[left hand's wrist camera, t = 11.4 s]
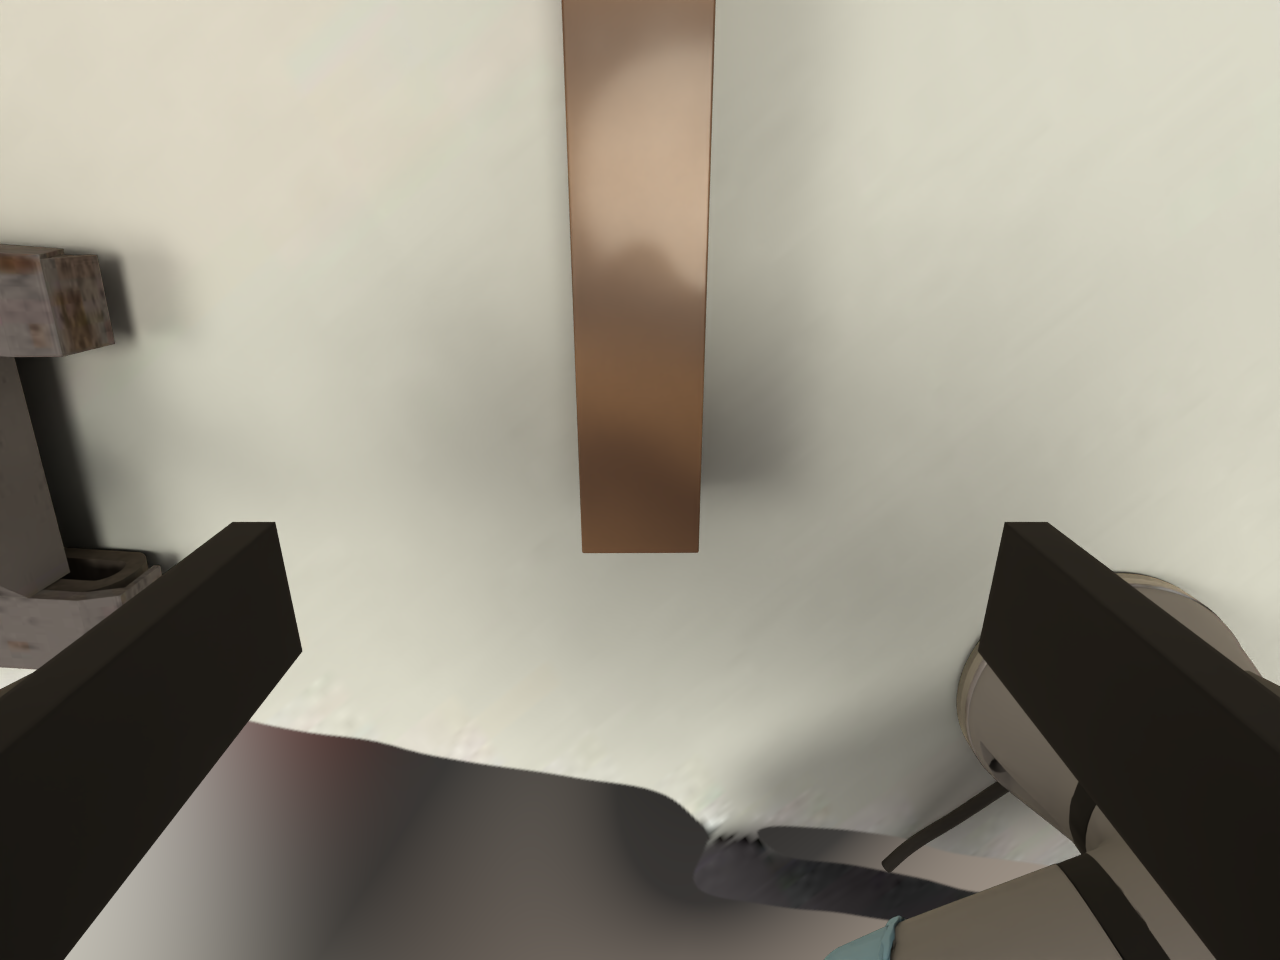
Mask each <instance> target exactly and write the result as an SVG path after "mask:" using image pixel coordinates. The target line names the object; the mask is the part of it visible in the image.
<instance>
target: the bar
mask: <svg viewBox="0 0 1280 960" xmlns="http://www.w3.org/2000/svg"><path fill="white" fill-rule="evenodd" d="M715 5H716V0H562V24H563V51H564V77H565V104H566V131H567V158H568V184H569V211H570V238H571V265H572V292H573V318H574V345H575V372H576V399H577V425H578V452H579V479H580V506H581V533H582V552H583V553H697V552H698V551H699V522H700V489H701V457H702V425H703V392H704V360H705V328H706V295H707V263H708V231H709V198H710V166H711V134H712V101H713V69H714V37H715Z"/></svg>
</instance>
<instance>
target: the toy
mask: <svg viewBox="0 0 1280 960" xmlns="http://www.w3.org/2000/svg"><path fill="white" fill-rule="evenodd" d="M62 254H64V251H63V249H57V248H44V247H31V246H17V245H4V244H0V667H5V668H22V669H39V668H40V667H41V666H43V665H44V664H45V663H47V662H48V661H49V660H50V659H52V658H53V657H54V656H56V655H57V654H58V653H60V652H61V651H62V650H64V649H65V648H66V647H68V646H69V645H70V644H72V643H73V642H74V641H76V640H77V639H78V638H80V637H81V636H82V635H84V634H85V633H86V632H88V631H89V630H90V629H92V628H93V627H94V626H96V625H97V624H98V623H100V622H101V621H102V620H103V619H105V618H106V617H107V616H109V615H110V614H111V613H113V612H114V611H115V610H117V609H118V608H119V607H121V606H122V605H123V604H125V603H126V602H127V601H129V600H130V599H131V598H133V597H134V596H135V595H137V594H138V593H139V592H141V591H142V590H143V589H145V588H146V587H147V586H149V585H150V584H151V583H153V582H154V581H155V580H157V579H158V578H159V577H160V576H162V572H161V567H160V565H153V566H152V567H151V568H150V569H148V564H147V560H146V556H145V555H144V554H143V553H142V552H127V551H112V550H97V549H82V548H66V547H64V546H63V543H62V539H61V535H60V531H59V527H58V523H57V520H56V516H55V512H54V508H53V504H52V500H51V496H50V493H49V489H48V485H47V481H46V477H45V473H44V470H43V466H42V462H41V458H40V454H39V450H38V446H37V443H36V439H35V435H34V431H33V427H32V423H31V420H30V416H29V412H28V408H27V404H26V400H25V396H24V393H23V389H22V385H21V381H20V377H19V373H18V370H17V366H16V362H15V358H14V357H63V356H67V355H71V354H75V353H79V352H83V351H87V350H91V349H95V348H99V347H103V346H107V345H111V344H115V341H114V336H113V331H112V326H111V321H110V316H109V311H108V306H107V302H106V297H105V292H104V287H103V282H102V277H101V272H100V267H99V262H98V257H97V255H77V256H74V255H62Z"/></svg>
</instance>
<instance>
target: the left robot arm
mask: <svg viewBox="0 0 1280 960" xmlns="http://www.w3.org/2000/svg"><path fill="white" fill-rule="evenodd" d="M301 652H302V647H301V642H300V637H299V633H298V628H297V623H296V618H295V614H294V609H293V604H292V600H291V595H290V590H289V585H288V581H287V576H286V571H285V566H284V562H283V557H282V552H281V547H280V543H279V538H278V533H277V528H276V524H275V522H232V523H231V524H229V525H228V526H227V527H225V528H224V529H223V530H221V531H220V532H219V533H217V534H216V535H215V536H214V537H212V538H211V539H210V540H208V541H207V542H206V543H204V544H203V545H202V546H200V547H199V548H198V549H196V550H195V551H194V552H192V553H191V554H190V555H188V556H187V557H186V558H184V559H183V560H182V561H180V562H179V563H178V564H176V565H175V566H174V567H172V568H171V569H170V570H168V571H167V572H166V573H164V574H163V575H162V576H160V577H159V578H158V579H157V580H155V581H154V582H153V583H151V584H150V585H149V586H147V587H146V588H145V589H143V590H142V591H141V592H139V593H138V594H137V595H135V596H134V597H133V598H131V599H130V600H129V601H127V602H126V603H125V604H123V605H122V606H121V607H119V608H118V609H117V610H115V611H114V612H113V613H111V614H110V615H109V616H107V617H106V618H105V619H103V620H102V621H101V622H100V623H98V624H97V625H96V626H94V627H93V628H92V629H90V630H89V631H88V632H86V633H85V634H84V635H82V636H81V637H80V638H78V639H77V640H76V641H74V642H73V643H72V644H70V645H69V646H68V647H66V648H65V649H64V650H62V651H61V652H60V653H58V654H57V655H56V656H54V657H53V658H52V659H50V660H49V661H48V662H47V663H45V664H44V665H43V666H41V667H40V668H39V669H37V670H36V671H35V672H33V673H31V674H29V675H27V676H25V677H23V678H21V679H20V680H18V681H16V682H14V683H12V684H10V685H8V686H6V687H4V688H2V689H0V960H64V959H65V957H66V956H67V955H68V954H69V952H70V951H71V950H72V948H73V947H74V946H75V945H76V943H77V942H78V941H79V939H80V938H81V937H82V935H83V934H84V933H85V932H86V930H87V929H88V928H89V927H90V925H91V924H92V923H93V921H94V920H95V919H96V917H97V916H98V915H99V914H100V912H101V911H102V910H103V908H104V907H105V906H106V905H107V903H108V902H109V901H110V899H111V898H112V897H113V895H114V894H115V893H116V892H117V890H118V889H119V888H120V886H121V885H122V884H123V883H124V881H125V880H126V879H127V877H128V876H129V875H130V873H131V872H132V871H133V870H134V868H135V867H136V866H137V864H138V863H139V862H140V861H141V859H142V858H143V857H144V855H145V854H146V853H147V852H148V850H149V849H150V848H151V846H152V845H153V844H154V842H155V841H156V840H157V839H158V837H159V836H160V835H161V833H162V832H163V831H164V830H165V828H166V827H167V826H168V824H169V823H170V822H171V820H172V819H173V818H174V817H175V815H176V814H177V813H178V811H179V810H180V809H181V808H182V806H183V805H184V804H185V802H186V801H187V800H188V799H189V797H190V796H191V795H192V793H193V792H194V791H195V789H196V788H197V787H198V786H199V784H200V783H201V782H202V780H203V779H204V778H205V777H206V775H207V774H208V773H209V771H210V770H211V769H212V767H213V766H214V765H215V764H216V762H217V761H218V760H219V758H220V757H221V756H222V754H223V753H224V752H225V751H226V749H227V748H228V747H229V745H230V744H231V743H232V742H233V740H234V739H235V738H236V736H237V735H238V734H239V733H240V731H241V730H242V729H243V727H244V726H245V725H246V723H247V722H248V721H249V720H250V718H251V717H252V716H253V714H254V713H255V712H256V711H257V709H258V708H259V707H260V705H261V704H262V703H263V702H264V700H265V699H266V698H267V696H268V695H269V694H270V692H271V691H272V690H273V689H274V687H275V686H276V685H277V683H278V682H279V681H280V680H281V678H282V677H283V676H284V674H285V673H286V672H287V670H288V669H289V668H290V667H291V665H292V664H293V663H294V661H295V660H296V659H297V658H298V656H299V655H300V654H301ZM956 705H957V715H958V720H959V724H960V727H961V730H962V733H963V735H964V736H965V738H966V740H967V742H968V744H969V745H970V747H971V748H972V750H973V752H974V753H975V755H976V757H977V758H978V760H979V761H980V763H981V764H982V765H983V767H984V768H985V769H986V770H987V771H988V772H989V773H990V774H991V775H992V776H993V777H994V778H995V779H996V780H997V782H995V783H994V784H992V785H991V786H989V787H988V788H986V789H985V790H983V791H982V792H980V793H979V794H978V795H976V796H975V797H973V798H972V799H970V800H969V801H967V802H966V803H964V804H963V805H961V806H960V807H958V808H957V809H955V810H953V811H952V812H950V813H949V814H947V815H946V816H944V817H942V818H941V819H939V820H937V821H936V822H934V823H932V824H931V825H929V826H927V827H926V828H924V829H922V830H921V831H919V832H918V833H916V834H915V835H913V836H912V837H910V838H909V839H908V840H906V841H905V842H904V843H902V844H901V845H900V846H899V847H897V848H896V849H895V850H894V851H893V852H892V853H891V854H890V855H889V856H888V857H887V858H885V859H884V860H883V861H882V866H883V867H884V869H885V870H886V871H887V872H891V871H893V870H894V869H895V868H896V867H897V866H898V865H899V864H900V863H901V862H902V861H904V860H905V859H906V858H907V857H908V856H909V855H911V854H912V853H913V852H915V851H916V850H918V849H919V848H921V847H922V846H924V845H925V844H927V843H928V842H930V841H932V840H933V839H935V838H937V837H938V836H940V835H942V834H943V833H945V832H947V831H949V830H950V829H952V828H954V827H955V826H957V825H958V824H960V823H962V822H963V821H965V820H966V819H968V818H969V817H971V816H972V815H974V814H976V813H977V812H979V811H980V810H982V809H983V808H985V807H986V806H988V805H989V804H991V803H992V802H994V801H995V800H997V799H998V798H1000V797H1001V796H1003V795H1004V794H1006V793H1007V792H1009V791H1010V792H1011V793H1012V794H1013V795H1015V796H1016V797H1017V798H1018V799H1020V800H1021V801H1022V802H1023V803H1025V804H1026V805H1027V806H1028V807H1030V808H1031V809H1032V810H1033V811H1035V812H1036V813H1037V814H1038V815H1040V816H1041V817H1042V818H1044V819H1045V820H1046V821H1047V822H1049V823H1050V824H1051V825H1052V826H1054V827H1055V828H1056V829H1057V830H1059V831H1060V832H1061V833H1062V834H1064V835H1065V836H1066V837H1067V838H1069V839H1070V840H1071V841H1072V842H1073V843H1074V844H1075V846H1076V847H1077V848H1078V850H1079V851H1080V853H1081V855H1079V856H1076V857H1074V858H1071V859H1068V860H1066V861H1063V862H1060V863H1057V864H1053V865H1050V866H1048V867H1045V868H1042V869H1040V870H1037V871H1034V872H1032V873H1029V874H1026V875H1024V876H1021V877H1018V878H1016V879H1013V880H1010V881H1008V882H1005V883H1003V884H1000V885H997V886H994V887H992V888H989V889H986V890H984V891H981V892H978V893H976V894H973V895H971V896H968V897H965V898H963V899H960V900H957V901H955V902H952V903H949V904H947V905H944V906H941V907H939V908H936V909H933V910H931V911H928V912H925V913H923V914H920V915H917V916H915V917H912V918H909V919H907V920H906V919H905V918H903V917H901V916H897V917H894V918H892V919H890V920H889V921H888V923H887V924H886V926H885V927H883V928H881V929H879V930H876V931H874V932H872V933H870V934H867V935H865V936H863V937H861V938H859V939H856V940H854V941H852V942H850V943H847V944H845V945H843V946H841V947H838V948H837V949H835V950H834V951H832V952H831V953H830V954H829V955H828V956H827V957H826V958H825V959H824V960H1280V686H1278V685H1276V684H1274V683H1272V682H1270V681H1268V680H1266V679H1264V678H1263V677H1262V676H1261V674H1260V673H1259V671H1258V670H1257V669H1256V667H1255V666H1254V664H1253V663H1252V661H1251V660H1250V659H1249V657H1248V656H1247V654H1246V653H1245V652H1244V650H1243V649H1242V648H1241V646H1240V644H1239V642H1238V640H1237V639H1236V637H1235V636H1234V635H1233V633H1232V632H1231V630H1230V629H1229V628H1228V627H1227V626H1226V625H1225V624H1224V623H1223V622H1222V620H1221V619H1220V618H1219V617H1218V616H1217V615H1216V614H1215V613H1214V612H1213V611H1211V610H1210V609H1209V608H1208V607H1206V606H1205V605H1203V604H1202V603H1201V602H1199V601H1198V600H1196V599H1195V598H1193V597H1192V596H1190V595H1189V594H1188V593H1186V592H1185V591H1183V590H1181V589H1180V588H1178V587H1176V586H1174V585H1172V584H1170V583H1168V582H1165V581H1162V580H1160V579H1157V578H1153V577H1149V576H1144V575H1138V574H1127V573H1114V572H1113V571H1112V570H1110V569H1109V568H1108V567H1106V566H1105V565H1104V564H1102V563H1101V562H1100V561H1098V560H1097V559H1096V558H1094V557H1093V556H1092V555H1090V554H1089V553H1088V552H1086V551H1085V550H1084V549H1082V548H1081V547H1080V546H1078V545H1077V544H1076V543H1074V542H1073V541H1072V540H1070V539H1069V538H1068V537H1066V536H1065V535H1064V534H1063V533H1061V532H1060V531H1059V530H1057V529H1056V528H1055V527H1053V526H1052V525H1051V524H1049V523H1048V522H1005V524H1004V528H1003V533H1002V538H1001V543H1000V547H999V552H998V557H997V562H996V566H995V571H994V576H993V581H992V585H991V590H990V595H989V600H988V604H987V609H986V614H985V618H984V623H983V628H982V633H981V637H980V641H979V642H978V643H977V645H976V646H975V648H974V649H973V651H972V652H971V654H970V656H969V658H968V660H967V662H966V664H965V666H964V669H963V671H962V674H961V677H960V681H959V684H958V691H957V704H956Z"/></svg>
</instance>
